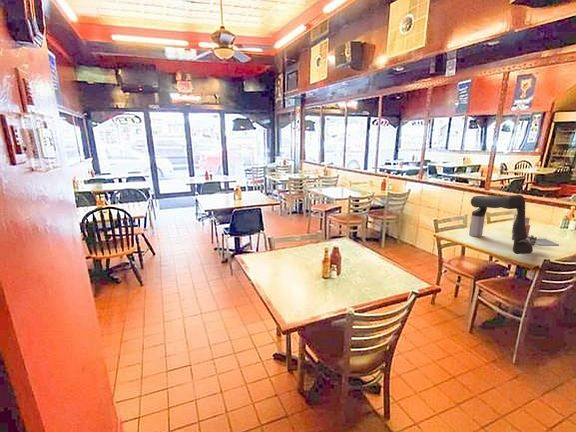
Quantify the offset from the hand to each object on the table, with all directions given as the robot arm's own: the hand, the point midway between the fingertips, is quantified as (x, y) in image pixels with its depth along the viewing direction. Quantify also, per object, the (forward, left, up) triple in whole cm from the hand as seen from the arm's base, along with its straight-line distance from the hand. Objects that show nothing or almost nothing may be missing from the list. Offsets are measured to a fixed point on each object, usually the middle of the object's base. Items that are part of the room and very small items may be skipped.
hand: (524, 235), depth 230 cm
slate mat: (-9, +20, -8) cm, 24 cm away
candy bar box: (-27, +14, -9) cm, 32 cm away
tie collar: (-10, +6, -8) cm, 15 cm away
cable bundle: (-9, +6, -9) cm, 14 cm away
